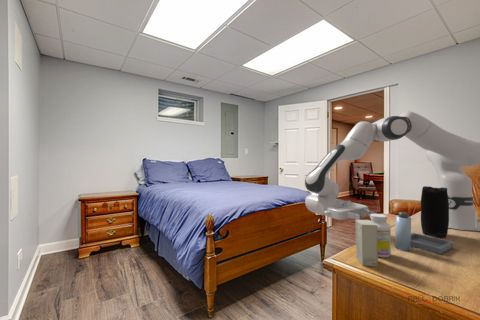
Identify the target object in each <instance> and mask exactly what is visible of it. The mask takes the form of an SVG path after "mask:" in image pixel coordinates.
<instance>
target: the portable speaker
mask: <svg viewBox="0 0 480 320" xmlns="http://www.w3.org/2000/svg"><path fill="white" fill-rule="evenodd" d="M420 224H421V225H420V227H421V231H422V235H427V234H428V235H431V236H432V235H433V236H434V238H437V239H441V238H443V239H444V238H446V237H448V236H447V235H448V232H449V228H448V226H449V200H448V193H447V188H442V187H441V188H439V187H432V186H422V189H421V196H420Z"/></svg>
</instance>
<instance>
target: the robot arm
mask: <svg viewBox="0 0 480 320" xmlns="http://www.w3.org/2000/svg"><path fill="white" fill-rule="evenodd" d="M403 137H405V138H407V139H408V140H410V141H411V142H413V143H414V144H415V145H417V146H419V147H420V148H421V149H424V150H426V158H427V159H428V161H429V162H430V163H431V164H432V165H433V167H434V169H435V172H436V174H437V179H438V188H441V187H442V188H447V193H448V200H449V226H448V229H454V230H461V231H473V232H474V231H475V232H480V219H479V218H478V211H477V210H476V207H474V204H475V203H474V201H475V200H474V196H473V195H472V194H473V192H472V191H473V188H472V187H473V184H472V183H473V181H472V178H470V177H469V176H468V175H467V174H466V173H465V171H464V169H463V167H473V166H478V165H480V142H479V141H473V140H472V139H468V138H465V137H463V136H459V135H457V134H454V133H452V132H449V131H447V130H445V129H444V128H442V127H440V126H438V125H437V124H436V123H434V122H432V121H431V120H430V119H428V118H426V117H425V116H422V115H420V114H418V113H416V112H415V111H404V112H402V113H401V114H399V115H392V116H387V117H383V118H380V119H378V120H375V121H372V122H369V121H367V120H366V121H365V120H364V121H359V122H357V123H356V124H355V125H354V126H353V127H352V129H351V130H349V132H348V134H347V135H346V136H345V138H344V139H343V140H342V142H340V143H339V144H336V145H334V146H333V147H332V148H331V149H330V150H329V151H328V152H327V154H326V155H325V156H324V157H323V158H322V159H321V161H320V162H319V163H318V164H317V165H316V166H315V168H314V169H312V170H311V171H310V172H309V173H307V175H306V177H305V180H304V184H305V185H304V186H305V188H306V190H307V191H310V192H311V194H309V195H307V196H306V197H305V201H304V204H305V208H307V210H308V211H309V212H311V213H314V214H316V215H320V216H326V217H328V218H331V219H334V220H339V221H344V220H348V219H351V220H352V219H354V220H362V216H369V217H370V214H376V213H375V212H374V211H373V210H370V209H369V206H367V205H365V204H361V203H356V202H352V200H348V199H339V198H338V196H339V193H340V186H339V184H338V183H337V182H335V181H334V180H333V179H331V178H329V177H328V174H329V173H330V171H331V170H332V169H333V168H334V166H335V165H336V164H337V163H338V162H340V161H342V160H343V161H344V160H345V161H357V160H359V159H362V157H363V156H364V155H365V154H366V152H367V151H368V149H369V147H370V145H371V144H372V143H373V142H376V143H377V142H378V143H379V142H391V141H395V140H396V141H397V140H399V139H401V138H403Z"/></svg>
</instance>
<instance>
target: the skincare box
mask: <svg viewBox="0 0 480 320" xmlns="http://www.w3.org/2000/svg"><path fill="white" fill-rule="evenodd" d="M355 247H356V248H355V250H356V251H355V254H356V259H357V260H358V262H359V263H360V264H361V265H362V266H365V267H366V266H367V267H378V266H379V260H378V259H379V257H378V249H377V225H376V224H375V223H373V222H372V221H371V219H355Z"/></svg>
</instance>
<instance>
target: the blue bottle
mask: <svg viewBox="0 0 480 320" xmlns="http://www.w3.org/2000/svg"><path fill="white" fill-rule="evenodd" d="M394 227H395V234H394V235H395V238H394V239H395V240H394V242H395V244H394V248H396V249H397V250H399V249H400V250H399V251H403V250H404V252H410V251H411V250H412V248H411V233H412V217H411V216H409V213H408V212H406V211H405V212H404V211H399V212H398V215H395V226H394Z"/></svg>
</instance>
